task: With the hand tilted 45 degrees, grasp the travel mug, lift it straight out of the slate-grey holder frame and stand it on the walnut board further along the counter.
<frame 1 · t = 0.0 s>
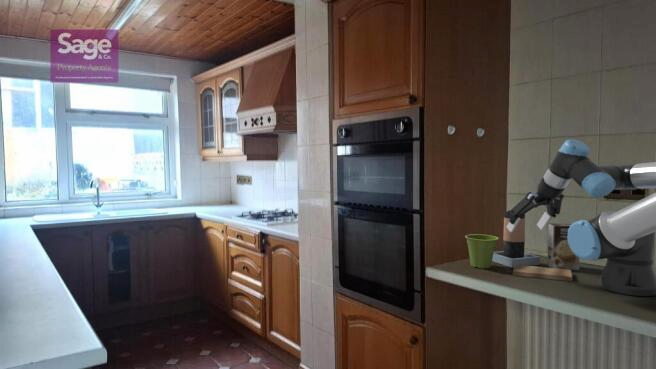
hand: (524, 228, 155), 15 cm above the worktop, tool tilted 35°, fingers open, 13 cm apart
holder frame: (513, 262, 168), on the worktop
plant pot: (481, 266, 162), on the worktop
coffee box: (563, 268, 160), on the worktop
travel mug: (513, 262, 168), resting in holder frame
walnut board: (541, 274, 150), on the worktop
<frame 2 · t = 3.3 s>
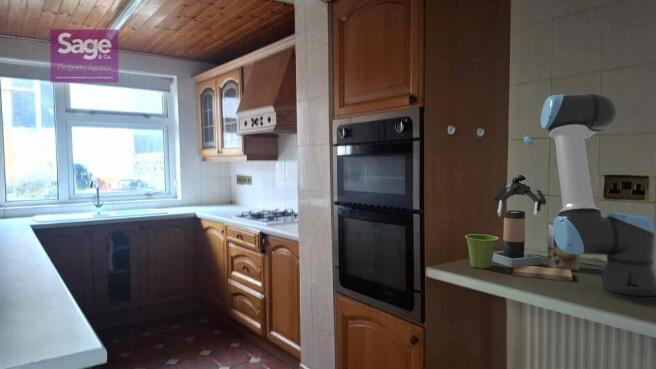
hand: (516, 215, 175), 17 cm above the worktop, tool tilted 45°, fingers open, 13 cm apart
nothing on the worktop moved.
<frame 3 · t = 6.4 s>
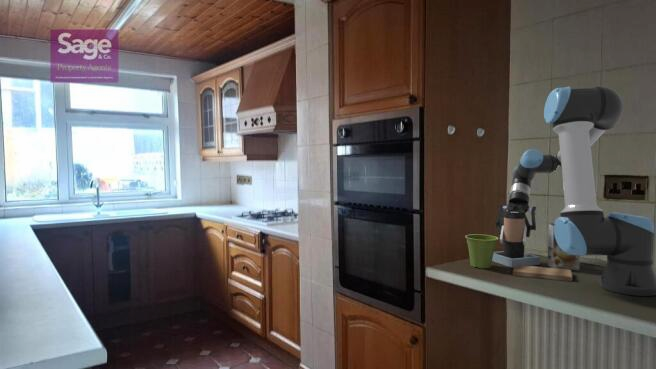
hand: (512, 241, 165), 9 cm above the worktop, tool tilted 45°, fingers closed on travel mug, 7 cm apart
travel mug: (513, 262, 168), resting in holder frame, touching gripper
everything else where it was.
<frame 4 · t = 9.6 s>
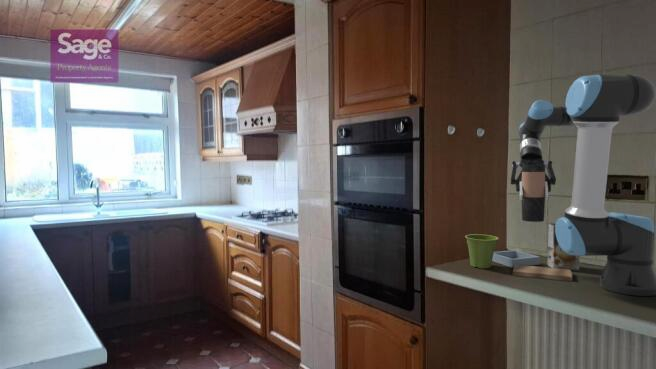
hand: (533, 197, 151), 27 cm above the worktop, tool tilted 45°, fingers closed on travel mug, 7 cm apart
travel mug: (532, 221, 155), point 18 cm above the worktop, touching gripper
everything else where it was.
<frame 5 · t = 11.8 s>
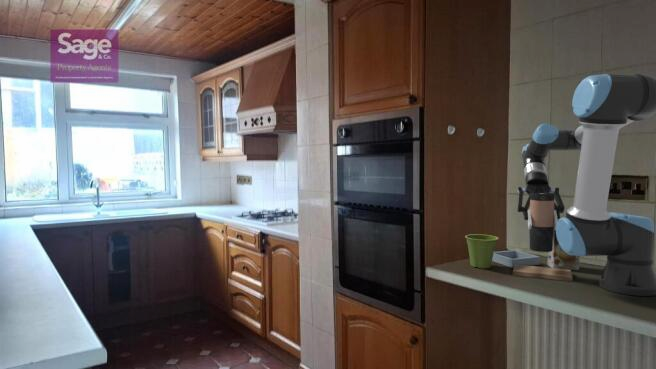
hand: (543, 227, 147), 17 cm above the worktop, tool tilted 45°, fingers closed on travel mug, 7 cm apart
travel mug: (540, 250, 151), point 8 cm above the worktop, touching gripper
everything else where it was.
when the fingers open (12 cm above the worktop, at t = 13.3 s): travel mug drops 1 cm, resting on walnut board.
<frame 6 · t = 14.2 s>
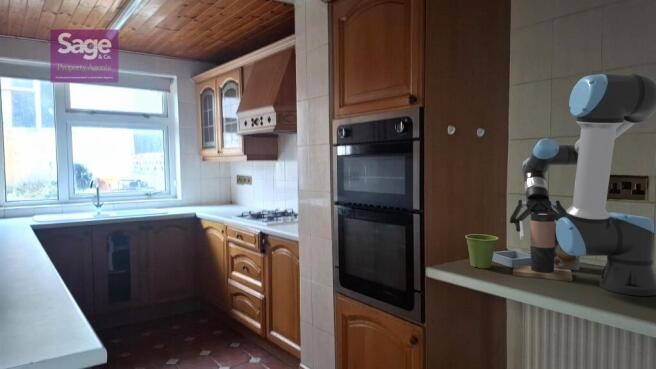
hand: (543, 239, 147), 13 cm above the worktop, tool tilted 45°, fingers open, 13 cm apart
travel mug: (542, 270, 150), point 1 cm above the worktop, touching walnut board
everything else where it was.
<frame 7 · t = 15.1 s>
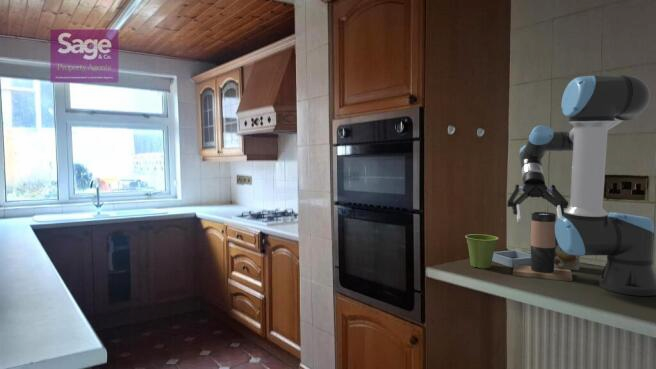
hand: (539, 221, 153), 18 cm above the worktop, tool tilted 45°, fingers open, 13 cm apart
nothing on the worktop moved.
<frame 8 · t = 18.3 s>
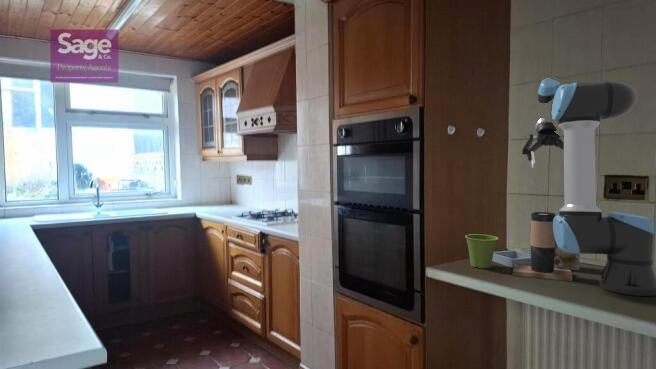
hand: (553, 165, 162), 38 cm above the worktop, tool tilted 45°, fingers open, 13 cm apart
nothing on the worktop moved.
at the end: travel mug inside the target area on the walnut board (0.2 cm from its centre), point 1.3 cm above the walnut board's base; travel mug tilted 0°; the gripper is holding nothing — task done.
